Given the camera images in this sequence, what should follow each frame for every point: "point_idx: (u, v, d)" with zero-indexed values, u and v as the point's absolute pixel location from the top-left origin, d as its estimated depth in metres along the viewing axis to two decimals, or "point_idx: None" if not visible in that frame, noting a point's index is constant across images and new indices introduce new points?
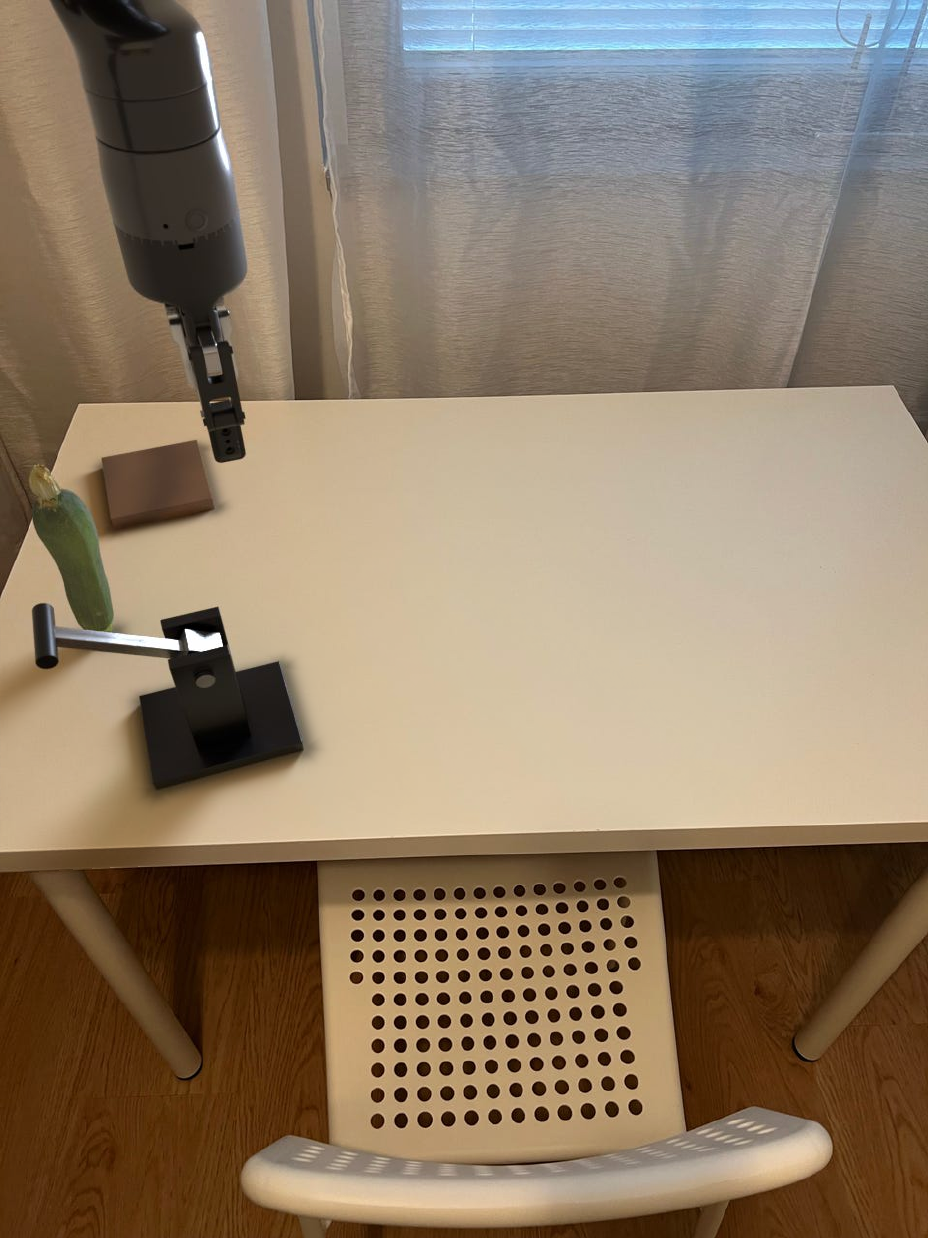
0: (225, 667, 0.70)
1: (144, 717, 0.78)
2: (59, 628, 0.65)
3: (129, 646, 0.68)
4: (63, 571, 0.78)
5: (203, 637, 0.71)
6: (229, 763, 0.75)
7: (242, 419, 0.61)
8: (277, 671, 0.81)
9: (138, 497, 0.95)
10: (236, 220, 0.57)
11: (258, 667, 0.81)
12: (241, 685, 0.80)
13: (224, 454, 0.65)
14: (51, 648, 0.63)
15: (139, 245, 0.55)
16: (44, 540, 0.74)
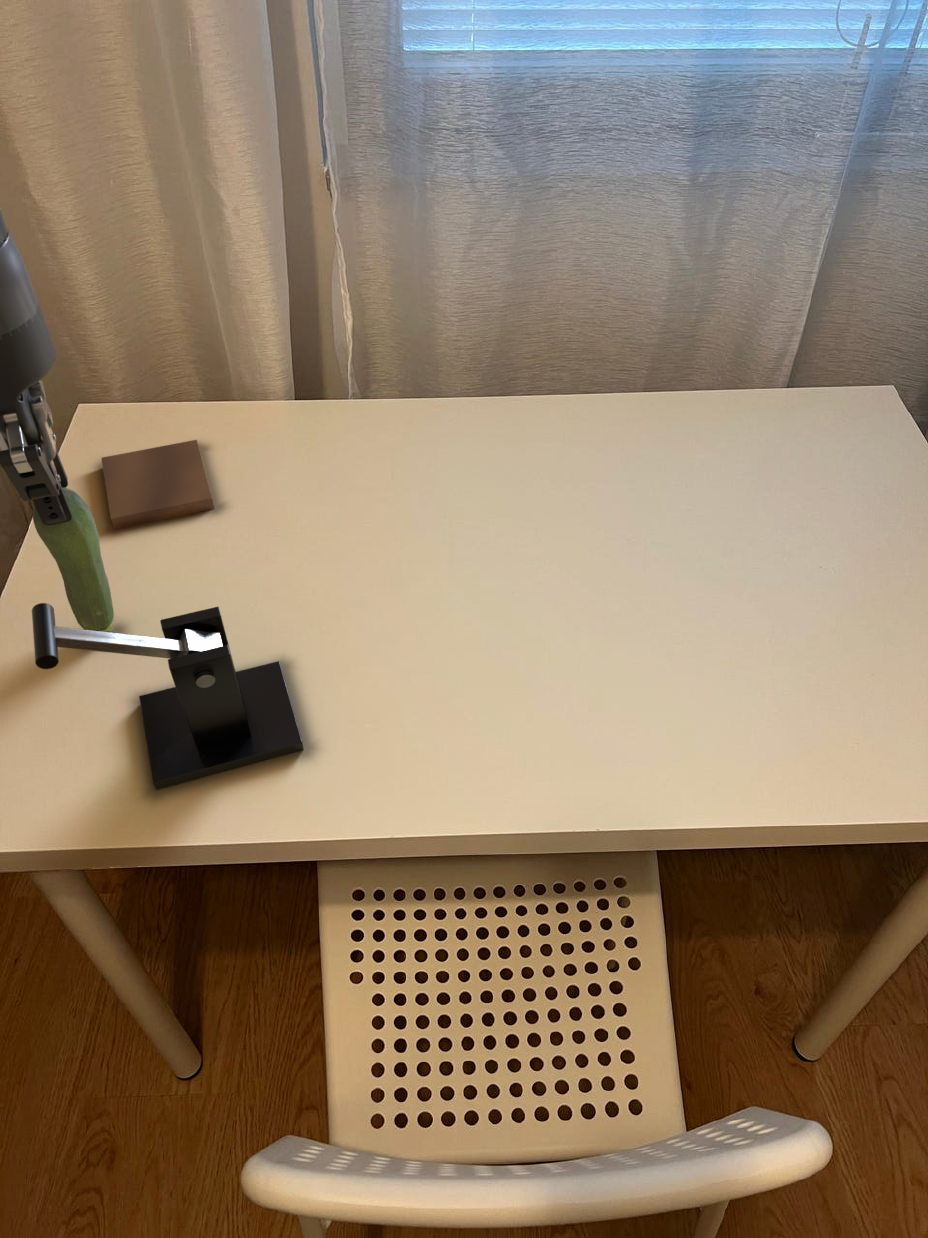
0: (225, 667, 0.70)
1: (144, 717, 0.78)
2: (59, 628, 0.65)
3: (129, 646, 0.68)
4: (63, 570, 0.78)
5: (203, 637, 0.71)
6: (229, 763, 0.75)
7: (56, 493, 0.68)
8: (277, 671, 0.81)
9: (138, 497, 0.95)
10: (34, 319, 0.61)
11: (258, 667, 0.81)
12: (241, 685, 0.80)
13: (48, 519, 0.71)
14: (51, 648, 0.63)
15: None
16: (44, 539, 0.74)
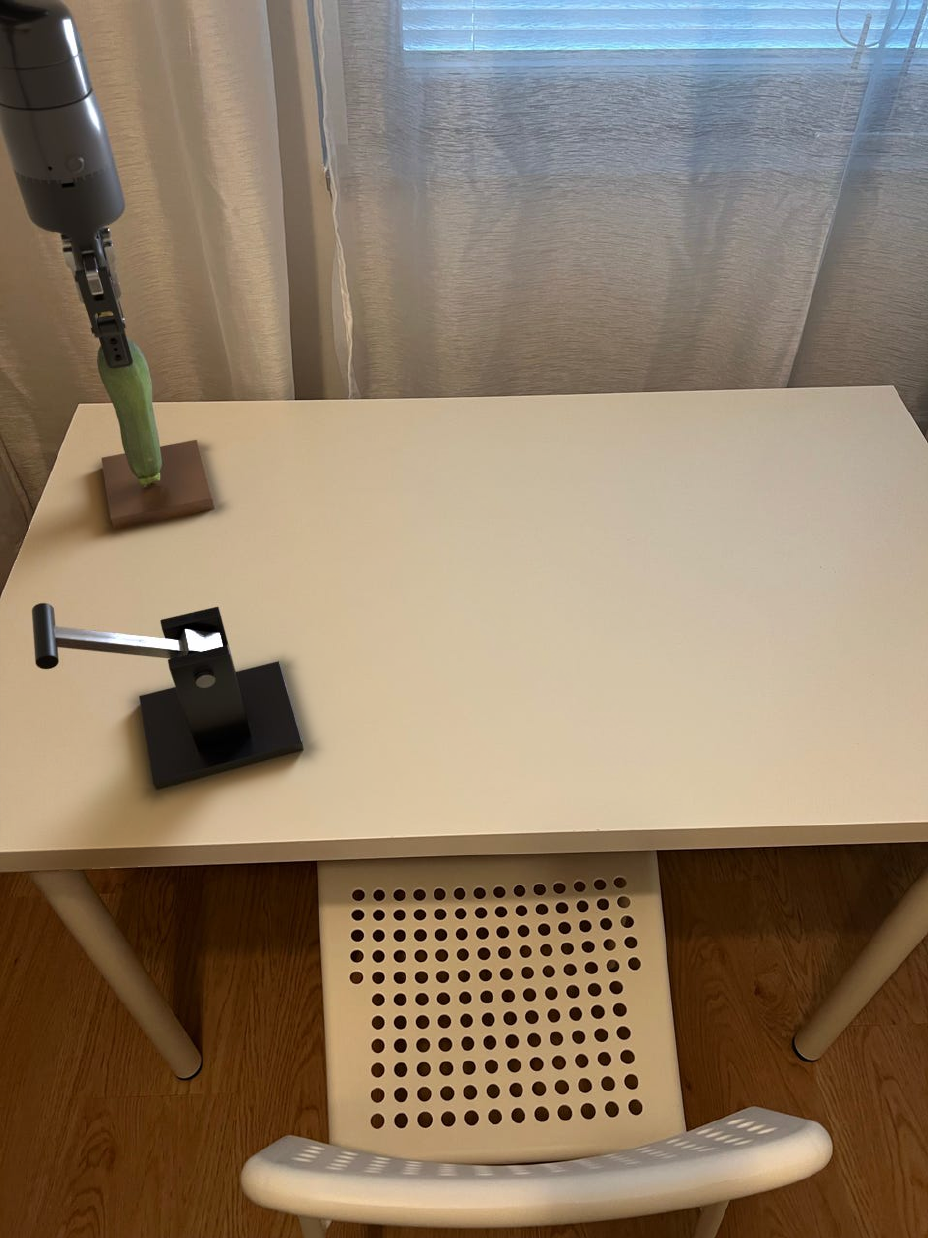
0: (225, 667, 0.70)
1: (144, 717, 0.78)
2: (59, 628, 0.65)
3: (129, 646, 0.68)
4: (121, 415, 0.89)
5: (203, 637, 0.71)
6: (229, 763, 0.75)
7: (122, 329, 0.77)
8: (277, 671, 0.81)
9: (138, 497, 0.95)
10: (110, 166, 0.73)
11: (258, 667, 0.81)
12: (241, 685, 0.80)
13: (113, 360, 0.81)
14: (51, 648, 0.63)
15: (31, 184, 0.71)
16: (107, 382, 0.86)
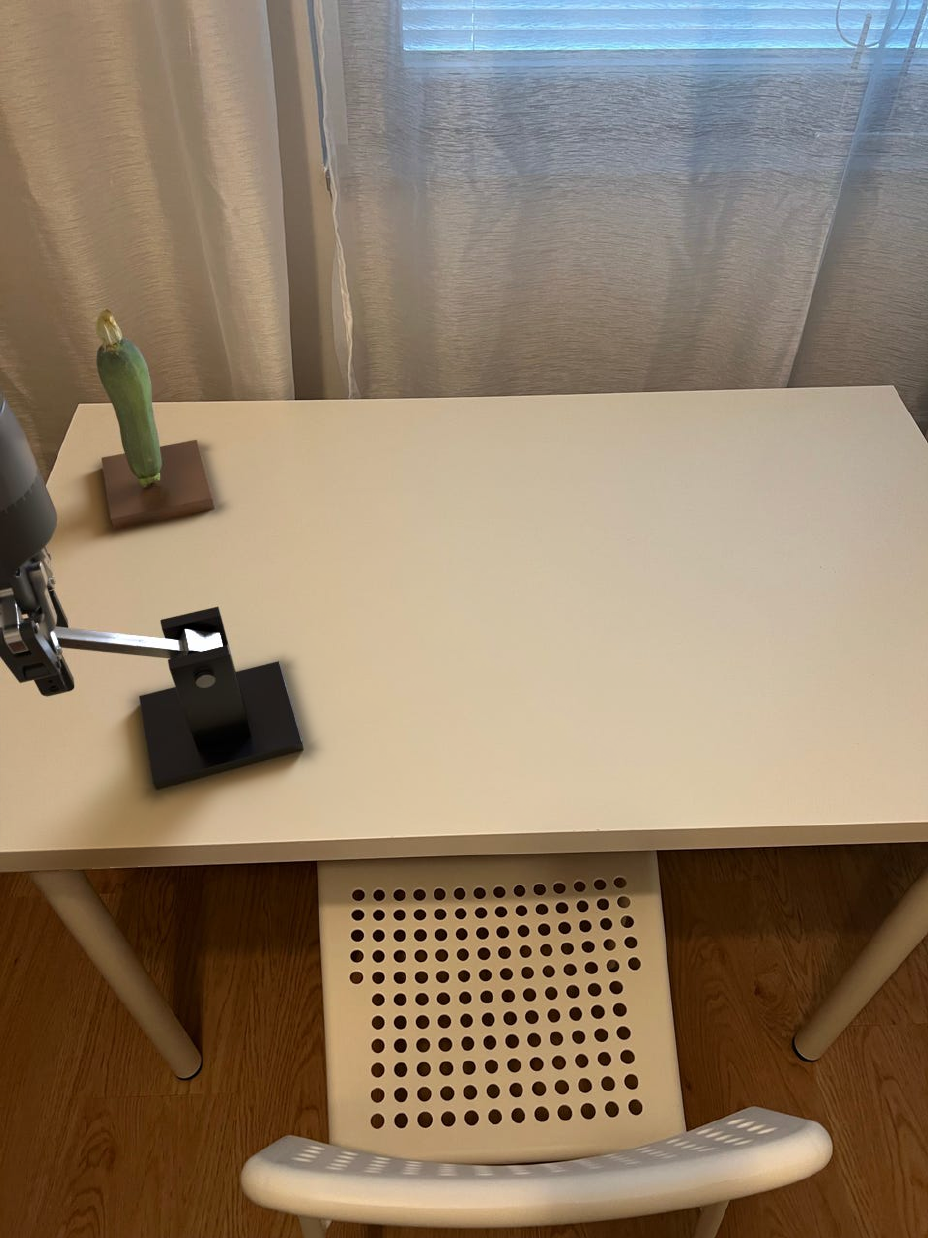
0: (225, 667, 0.70)
1: (144, 717, 0.78)
2: (59, 628, 0.65)
3: (129, 646, 0.68)
4: (121, 416, 0.89)
5: (203, 637, 0.71)
6: (229, 763, 0.75)
7: None
8: (277, 671, 0.81)
9: (138, 497, 0.95)
10: None
11: (258, 667, 0.81)
12: (241, 685, 0.80)
13: None
14: None
15: None
16: (106, 382, 0.86)
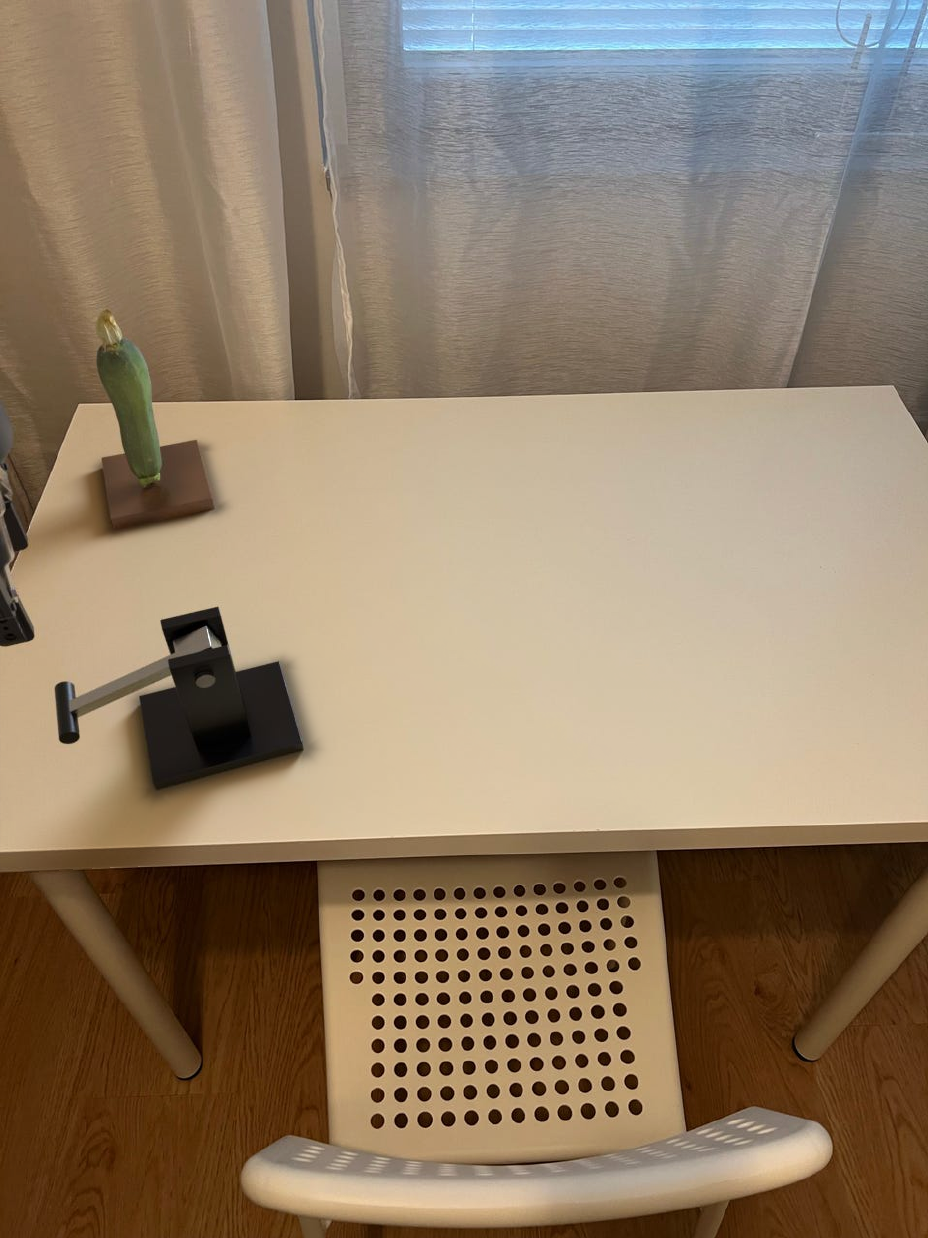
0: (225, 667, 0.70)
1: (144, 717, 0.78)
2: (72, 700, 0.71)
3: (132, 684, 0.71)
4: (121, 416, 0.89)
5: (190, 640, 0.70)
6: (229, 763, 0.75)
7: None
8: (277, 671, 0.81)
9: (138, 497, 0.95)
10: None
11: (258, 667, 0.81)
12: (241, 685, 0.80)
13: None
14: (65, 726, 0.69)
15: None
16: (106, 382, 0.86)
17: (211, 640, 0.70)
